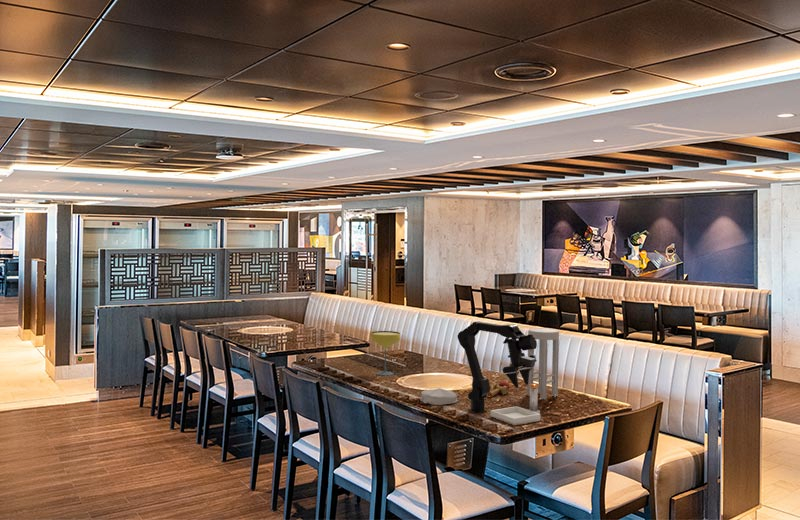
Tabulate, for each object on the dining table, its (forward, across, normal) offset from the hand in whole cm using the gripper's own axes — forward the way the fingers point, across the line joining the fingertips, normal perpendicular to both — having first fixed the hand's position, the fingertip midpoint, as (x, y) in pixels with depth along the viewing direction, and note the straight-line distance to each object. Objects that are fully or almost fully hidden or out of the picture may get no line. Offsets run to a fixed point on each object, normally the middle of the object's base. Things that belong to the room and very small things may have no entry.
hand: (522, 386), depth 296 cm
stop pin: (+15, +16, +6) cm, 23 cm away
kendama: (+7, +37, +37) cm, 53 cm away
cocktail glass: (-12, +36, +113) cm, 119 cm away
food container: (+4, +5, +52) cm, 52 cm away
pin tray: (+14, 0, +7) cm, 16 cm away
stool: (+12, +50, +19) cm, 55 cm away
